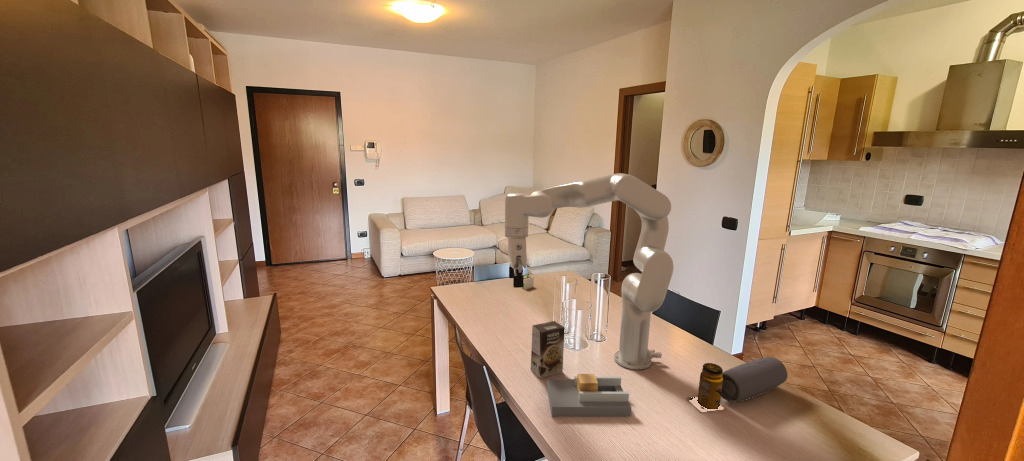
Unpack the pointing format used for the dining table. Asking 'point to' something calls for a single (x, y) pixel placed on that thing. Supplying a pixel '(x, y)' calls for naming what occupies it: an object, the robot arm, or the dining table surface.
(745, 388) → the bluetooth speaker
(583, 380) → the block
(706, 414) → the dining table surface
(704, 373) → the condiment
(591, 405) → the trap channel
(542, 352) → the cookie box
